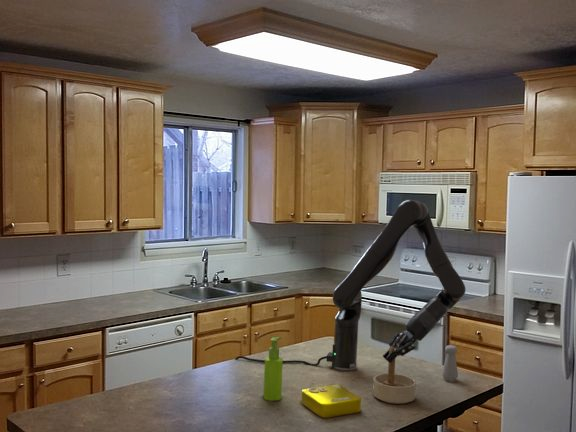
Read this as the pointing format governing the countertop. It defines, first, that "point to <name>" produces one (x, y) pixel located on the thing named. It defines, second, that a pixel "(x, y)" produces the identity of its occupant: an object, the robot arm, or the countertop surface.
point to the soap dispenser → (273, 373)
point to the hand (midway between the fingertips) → (386, 359)
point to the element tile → (331, 401)
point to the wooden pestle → (391, 372)
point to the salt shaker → (450, 364)
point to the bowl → (394, 389)
